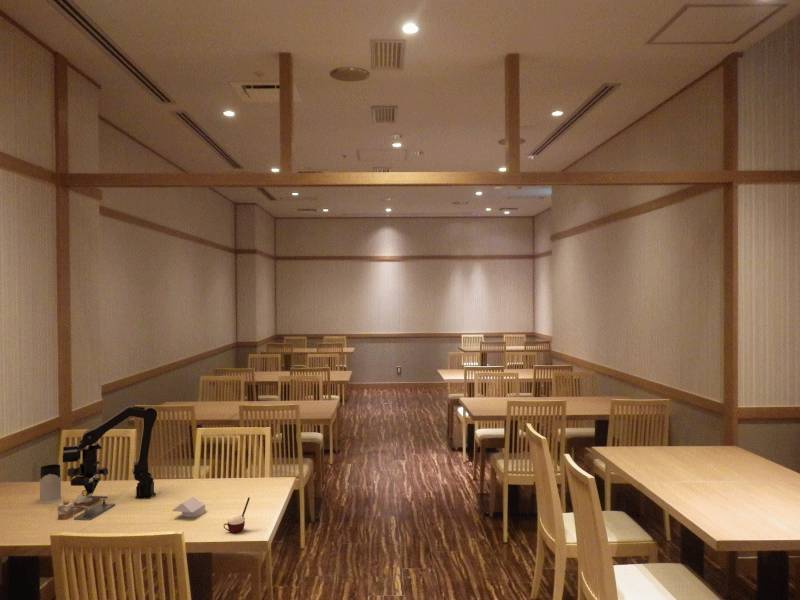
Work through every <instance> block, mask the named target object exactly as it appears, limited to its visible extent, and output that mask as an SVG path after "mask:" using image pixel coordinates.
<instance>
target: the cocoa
mask: <svg viewBox="0 0 800 600" xmlns="http://www.w3.org/2000/svg"><path fill="white" fill-rule="evenodd" d="M249 502H250V497H248V496H247V500H246V503H245V506H244V509H243V512H242V514H237V513H236V514H233V515H231V516H229V517H227V523H223V528H224V529H225V530H226V531H228V532H230V533H232V532H233V533H232V534H238V533H237V532H239V533H241V532H242V531H243V530H244V529H245V525H246V524H245V523H246V521H245V520H246V518H245V517H246V516H245V513H246V511H247V507H248V505H249ZM226 525H227V528H226V527H225V526H226ZM240 531H241V532H240Z"/></svg>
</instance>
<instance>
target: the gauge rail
mask: <svg viewBox="0 0 800 600" xmlns="http://www.w3.org/2000/svg"><path fill="white" fill-rule="evenodd" d="M99 501H101V498H92V500H91V501H89V502H88V503H77V504H75V502H69V499H62V503H60V504H58V505H57V520H59V521H60V520H61V521H62V520H63V521H65V520H68V519H70V518H71V517H73V516H75V515H76V514H79V513H80V512H82V511H84V512H85V516H87V510H88V509H90V507H91V506H93V505H94V504H97V503H98V502H99Z"/></svg>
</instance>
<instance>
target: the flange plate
mask: <svg viewBox="0 0 800 600" xmlns="http://www.w3.org/2000/svg"><path fill="white" fill-rule="evenodd" d="M115 506H116V503H114V502H113V503H111V502H109V503H106V502H105V505H103V502H101V503H96V505H94V506H93V507H91V508H88V509H87V516H85V511H84V512H82V513H80V514H78V515H76V516H75V517H74V518H73V520H74V521H92V520H93V519H96V518H97V517H98V516H101V515H102V514H104V513H105V512H107V511H109V510H111V509H112V508H114V507H115Z"/></svg>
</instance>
